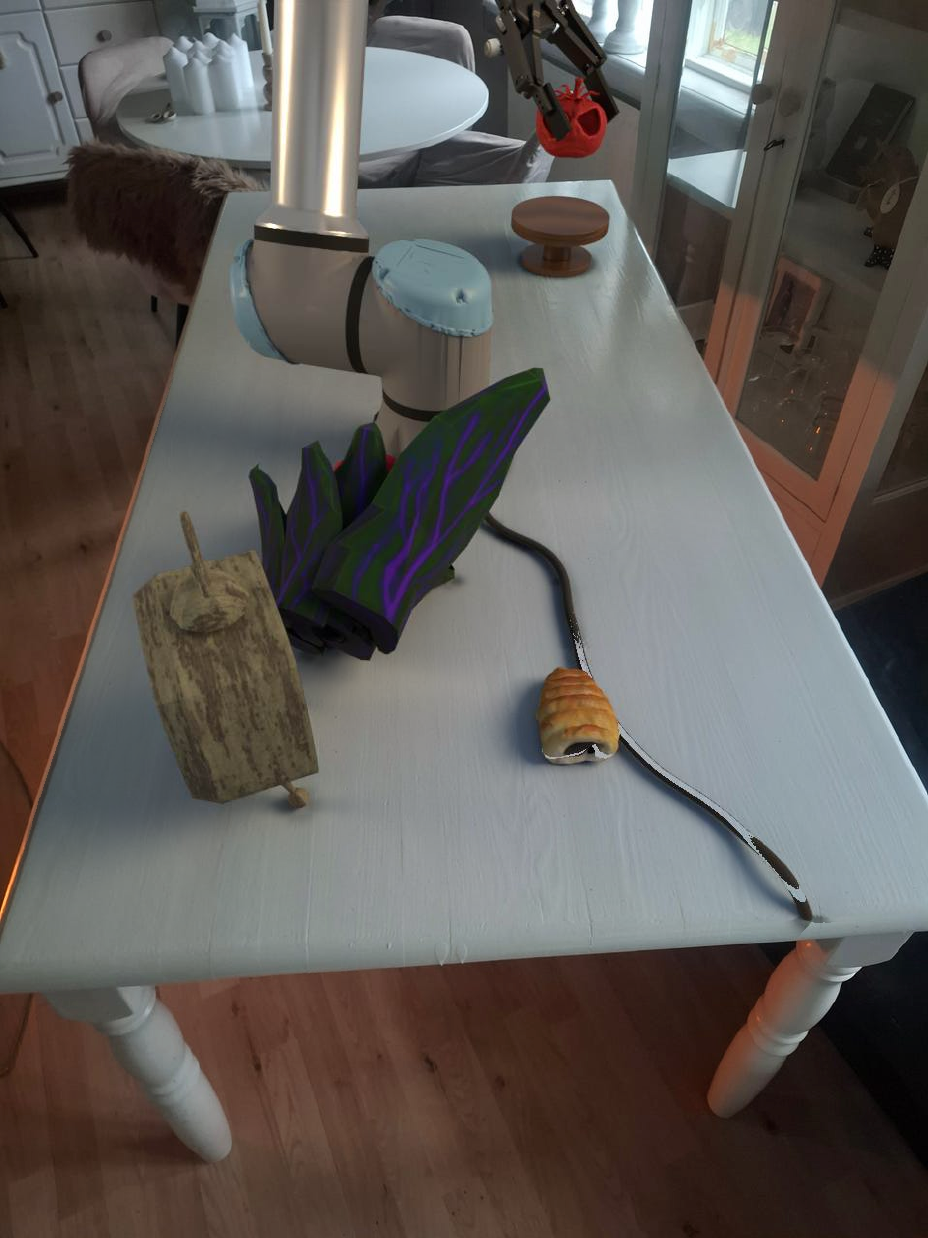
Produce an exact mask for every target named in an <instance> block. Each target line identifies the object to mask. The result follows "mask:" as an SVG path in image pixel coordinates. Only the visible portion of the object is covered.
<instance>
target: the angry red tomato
mask: <svg viewBox="0 0 928 1238" xmlns="http://www.w3.org/2000/svg"><path fill="white" fill-rule="evenodd" d="M583 81H584V78H582V77H575V78H574V87H573V91H571V90H570V88H569V86H568V84H566V83H563V84H562V85H560V86H559V88H564V89H565V92H564V91H562V90H560V89H555V90H554V89H553V90H554V92H555V93H557V94H556V96H557V98H558V100H559V102H560V104H561V106H562V108H563V110H564V112H565V114H566V116H567V118H568V120H569V122H570V124H571V126H572V128H573V129H572V130H571V131H570V132H569V133H568V134H567V135H566V136H565V137H564V138H563V139H562V140H561V141H558V142H557V141H556V139H555V137H554V135H553V133H552V131H551V129H550V127H549V125H548V123H547V121H546V119H545V117H543V116H542V114H541V113H540V111H539V109H538V108H537V109H536V112H535V134H536V138H537V140H538V142H539V144H540V146H541V147H542V148H543V150H544V152H546V153H547V154H548V155H549V156H553V157H554V158H563V159H584V158H587V157H589V156H592V155H594V153H596V152H597V151H598V150H599V149H600V147H601V146H602V143H603V140H604V138H605V136H606V133H607V126H608V124H607V117H606V114H605V111H604V110H603V108H602V107H601V106H600V105H599V104H598V103H596V102H593V101H592V99H591V98H588V97H590V94H593V95H599V94H600V93H595V92H593V91H587V92H586V91H585V92H584V93H583V90H584V89H586V86H585V85H584V86H583V85H582V84H583ZM581 86H582V87H581ZM582 93H583V94H582ZM581 94H582V95H581Z"/></svg>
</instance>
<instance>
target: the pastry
mask: <svg viewBox="0 0 928 1238" xmlns="http://www.w3.org/2000/svg"><path fill="white" fill-rule="evenodd" d="M593 679H594V678H593ZM593 679H592V678H591V677H590V676H589V675H588V673H587V672H585V671H582V670H579V668H566V667H564V666H563V667H562V666H558V667H556V668H555V669H554V670H552V672H549V674H548V675H546V677H545V680H544V681H543V682H544V683H543V685H542V687H541V692H540V693H539V699H538V705H539V704H540V705H539V706H538V708H537V710H536V712H535V718H536V720H538V721H537V722H538V726H539V727H538V728H539V731H540V743H541V746H542V745H543V750H542V749H541V752H542V751H543V753H544V754H545V755H547V756H549V757H562V756H566V755H570V754H574V753H579V752H581V751H583V750H585V749H586V750H585V751H584V752H583V753H581V754H579V755H575V756H569V757H563V758H556V759H548V758H546V757H544V755H543V754H542V756H543V757H544V758H545V759H546V760H547V761H549V762H550V763H551V764H555V765H573V764H577V763H582V762H585V761H588V762H605V761H607V760H609V759H610V758H608V759H604V758H599V757H596V756H595V750H594V748H593V747H592V745H594V744H596V746H597V747H598V749H599V751H600V752H603V753H604V754H606V755H610V754H613V753H615V754H616V752H617V750H618V749H619V729H618V722H619V721H618V722H617V720H618V718H617V717H616V715H615V711H614V708H613V706H612V704H611V702H610V699H609V698H608V697H607V696H606V695H605V693H604V691H603V689H602V688H600V687H599V685H598V684H597V683H596V681H595V679H594V680H593ZM594 681H595V682H594Z"/></svg>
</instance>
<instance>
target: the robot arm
mask: <svg viewBox="0 0 928 1238" xmlns="http://www.w3.org/2000/svg"><path fill="white" fill-rule="evenodd" d="M494 2H495V5H496V7H497V9H498V10H499V11H498V12H499V13H498V15H497V16H496V17H495V19H494V20H493V21H492V27H493V29H494V31H495V32H496V34H497V36H498V38H499V39H500V42H501V43H500V44H501V46H502V49H503V52H504V53H503V54H504V56H505V60H506V63H507V66H508V70H509V73H510V77H511V80H512V83H513V87H514V90H515V92H516V94H518V95H521V94H522V95H523V97H524V99H526V100H530V99H531V98H532V99H533V101H534V102H535V105H536V107H537V109H539V111H540V113H541V114H542V116H543V117H545V119H546V121H547V123H548V125H549V127H550V129H551V131H552V133H553V135H554V137H555V139H556V141H557V142H558V141H561V140H562V139H563V138H564V137H565V136H566V135H567V134H568V133H569V132H570V131H571V130H572V129H573V128H572V126H571V124H570V122H569V120H568V118H567V116H566V114H565V112H564V110H563V108H562V106H561V104H560V102H559V100H558V98H557V93H556V92H554V88H553V85H552V84H551V82H550V81H549V82H546V83H545V79H544V78H545V77H544V69H543V60H542V59H543V58H542V50H541V40H546V41H547V43H549V44H550V45H554V46H556V47H557V49H558V50H559V51H560V52H561V53H562V54H563V55H564V56H565V57H566V58H567V59H568V60H569V61H570V62H571V63H572V64H573V65H574V66H575V67H576V68H577V70H578V71H579V72H580V73H581V74H582V75H583V76H584V77H585V78H584V79H583V82H582V84H584V87H585V86H586V87H585V89H586V91H587V92H588V91H593V92H595V93H600V94H599V95H593V94H590V95H589V97H590V100H592V101H593V102H596V103H598V104H599V105H600V106H601V107H602V108H603V110H604V111H605V114H606V117H607V125H608V124H609V123H610V122H612V120H614V119H615V118H616V117H617V116H618V115H619V114H620V113H621V112H620V109H619V108H618V106H617V105H618V104H617V103H616V101H615V99H614V97H613V94H612V93H611V89H610V86H609V83H608V81H607V80H606V77H605V76H604V73H603V71H602V66H603V65H604V64H605V63H606V61H607V60H608V55H607V53H606V52H605V51H604V49H603V48H602V45H600V43H599V41H598V40H597V39H596V37H595V36H594V35H593V33H592V31H591V30H590V29H589V27H588V26H587V23H585V22H584V21H585V20H583V18H582V17H581V16H580V14H579V13H578V11H577V9H576V7H575V5H574V2H573V0H494ZM368 14H369V0H273V38H272V39H273V40H272V41H273V42H272V44H273V46H272V87H271V89H272V94H271V137H270V138H271V140H270V141H271V142H270V185H269V186H270V187H269V195H270V196H269V204H268V207H267V208H266V209H265V210H264V211H263V212H262V213H261V214H260V215H259V216H258V217H257V218H255V220H254V222H253V237H252V238H249V239H248V240H245V241H243V242H242V243H241V244H240V245H239V246H238V247H237V249H236V251H235V252H234V254H233V260H234V263H232V264H231V265H230V272H229V297H230V304H231V305H230V306H231V309H232V313H233V318H234V320H235V324H236V327H237V328H238V331H239V333H240V335H241V336H242V337H243V338H244V340H245V343H246V344H247V345H248V347H250V349H252V350H253V351H254V352H255V353H257V354H258V355H259V356H262V357H265V358H270V359H274V360H278V361H283V362H285V363H287V364H289V365H292V366H293V365H295V366H296V365H306V366H311V367H312V366H313V367H319V368H323V369H329V370H336V371H343V372H348V373H354V374H355V373H356V374H363V375H369V376H373V377H378V378H380V382H381V394H382V395H381V397H382V399H381V404H380V407H379V410H378V411H377V412H376V413H375V414H374V416H373V420H372V422H375V423H376V424H377V426H378V428H379V429H380V431H381V434H382V437H383V442H384V446H385V450H386V454H388V455H391V456H393V457H394V458H395V459H396V460H397V459H398V457H399V455H400V454H401V453H402V452H403V451H404V450H405V448H406V447H407V446H408V445H409V444H410V443H411V442H412V441H413V440H414V439H415V437H416V436H417V435H418V434H419V433H420V432H421V431H422V430H423V429H424V428H425V426H426V425H427V424H428V423H429V422H430V421H431V420H432V419H433V418H434V416H436V415H438V414H440V413H441V412H443V411H445V410H447V409H449V408H451V407H452V406H454V405H456V404H458V403H460V402H462V401H463V400H465V399H467V398H469V397H471V396H473V395H474V394H476V393H478V392H480V391H482V390H483V389H485V388H487V387H489V386H490V372H491V370H490V369H491V349H492V329H493V328H492V327H493V324H494V319H495V318H494V310H493V299H492V297H493V295H492V292H493V291H492V281H491V277H490V275H489V272H488V271H487V269H486V267H485V266H484V265H483V264H482V263H480V261H479V260H478V259H477V258H476V257H475V256H474V255H473V254H471V253H469V252H468V251H466V250H464V249H462V248H461V247H458V246H456V245H453V244H450V243H447V242H442V241H438V240H434V239H428V238H413V239H412V240H406V239H399V240H394V241H391V242H389V243H387V244H385V245H383V246H381V247H380V248H379V250H377V252H376V254H375V256H373V255H369V254H370V253H369V252H370V239H371V238H370V234H369V233H368V231H367V230H366V229H365V227H364V225H363V224H362V223H361V222H360V221H359V219H358V216H357V207H358V206H357V205H358V186H359V170H360V168H359V167H360V155H361V154H360V153H361V152H360V151H361V135H362V121H363V120H362V116H363V99H364V84H365V83H364V82H365V68H366V51H367V49H366V48H367V32H368ZM557 25H558V26H557ZM544 83H545V84H544ZM483 521H485V523H487V525H488V526H490V527H491V528H492V529H493V530H495V532H497V533H499V534H500V535H502V536H504V537H505V538H507V539H510V540H512V541H514V542H516V543H518V544H520V545H523V546H525V547H527V548H528V549H529V548H530V549H531V550H533V551H535V552H537V553H538V554H540V555H541V556H543V557H544V558H545V559H546V560H547V561H548V563H550V564H551V566H552V567H553V570H555V572H556V574H557V576H558V579H559V582H560V583H559V584H560V587H561V594H562V595H561V596H562V603H563V610H564V615H565V619H566V623H567V626H568V630H569V635H570V638H571V643H572V649H573V652H574V658H575V661H576V665H577V669H579V670H582V667H581V664H580V660H579V657H578V653H577V649H576V644H575V640H576V641H577V643H579V638H580V640H581V643H580V645H581V644H582V648H583V653H584V656H585V660H586V663H587V666H588V669H589V672H590V674H591V676H592V679H593V680H594V682H595V683H596V680H595V678H594V677H593V674H592V671H591V669H590V667H589V664H588V659H587V657H586V652H585V649H584V643H583V640H582V635H581V631H580V627H579V623H578V620H577V616H576V613H575V608H574V603H573V594H572V588H571V582H570V578H569V575H568V572H567V570H566V568H565V566H564V565H563V563H562V561H561V560H560V558H559V557H558V556H557V555H556V554H555V553H554V552H553V551H551V550H550V549H549V548H548V547H546V546H545V545H543V544H542V543H541V542H538V541H536V540H534V539H533V538H530V537H527V536H526V535H523V534H521V533H519V532H517V531H514V530H512V529H510V528H508V527H507V526H506V525H503V524H502V523H501V522H499V520H498V519H496V518H495V517H494V516H493V515H492V513H491V512H490V511H489V512H488V514H487V515H486V517H485V519H484V520H483ZM573 612H574V613H573ZM570 620H571V621H570ZM576 623H577V624H576ZM571 626H572V627H571ZM578 631H579V635H580V636H579V635H578ZM573 633H574V635H575V636H576V637H575V636H574V635H573ZM577 636H578V638H577ZM574 639H575V640H574ZM579 648H580V646H579ZM582 661H583V660H582ZM582 671H583V670H582ZM617 721H618V723H619V724H620V725H621V726H622V724H621V723H620V722H619V720H618V719H617ZM622 728H623V729H624V730H625V731H626V733H627V734H628V735H629V736H630V737H631V738H632V739H633V737H632V736H631V735H630V733H628V732H627V730H626V729H625V728H624V727H623V726H622ZM618 741H620V742H621V744H622V745H623V746H624V747H625V748H626V749H627V751H629V752H630V753H631V755H632V756H633V757H634V758H635V759H636V760H637V761H638V762H639V763H640V764H641V765H643V766H644V768H645V769H646V770H648V771H649V772H650V773H651V774H653V775H654V776H655V777H656V778H658V779H659V780H660V781H661V782H663V783H665V785H667V786H669V787H670V788H672V789H673V790H674V791H676V792H677V793H679V794H681V795H682V796H684V797H685V798H687V799H688V800H690V801H692V802H694V803H695V804H696V805H698V806H699V807H701V808H702V809H703V810H705V811H706V812H707V813H709V814H710V815H712V816H713V817H714V818H715V819H717V820H718V821H719V822H720V823H721V824H722V825H724V826H725V827H726V828H727V829H728V830H729V831H731V832H732V833H733V834H734V835H735V836H736V837H737V838H738V839H740V840H741V841H742V842H743V843H744V844H745V845H746V846H747V847H749V848H750V849H751V850H752V851H754V853H756V854H757V855H758V856H759V854H758V853H757V852H756V851H755V850H754V849H753V848H752V847H751V846H750V845H749V844H748V842H747V841H746V840H745V839H744V838H743V836H742V835H741V834H740V833H739V832H738V831H737V830H736V829H735V828H734V827H733V826H732V825H731V824H730V823H729V822H728V821H727V820H726V819H725V818H724V817H723V816H721V815H720V814H719V813H718V812H716V811H715V810H714V809H712V808H711V807H710V806H708V805H707V804H705V803H704V802H703V801H701V800H700V799H698V798H697V797H695V796H693V795H692V794H690V793H689V792H687V791H686V790H684V789H683V788H681V787H679V786H678V785H676V784H675V783H673V782H672V781H670V780H669V779H668V778H666V777H665V776H663V775H662V774H661V773H659V772H658V771H657V770H655V769H654V768H653V767H652V766H651V765H650V764H648V763H647V762H646V761H645V760H644V759H643V758H642V757H641V756H640V755H639V754H638V753H637V752H636V751H635V750H634V749H633V748H632V747H631V746H630V745H629V743H628V742H627V741H626V740H625V739H624V738H623V737H622V736H621V734H620V735H619V739H618ZM635 743H636V744H637V745H638V746H639V747H640V748H641V749H642V750H643V751H644V752H645V753H646V754H647V755H648V756H649V757H650V758H652V757H651V756H650V755H649V754H648V753H647V752H646V751H645V750H644V749H643V748H642V746H640V745H639V744H638V743H637V742H636V741H635ZM654 761H655V762H656V763H657V764H658V765H660V764H659V763H658V762H657V761H656V760H654ZM661 767H662V768H663V769H665V768H664V767H663V766H661ZM665 770H666V771H667V772H669V771H668V770H667V769H665ZM669 773H670V774H672V773H671V772H669ZM672 775H673V776H675V775H674V774H672ZM675 777H676V778H678V777H677V776H675ZM678 779H679V780H681V779H680V778H678ZM681 781H682V782H684V781H683V780H681ZM684 783H685V784H687V783H686V782H684ZM687 785H688V786H690V787H692V786H691V785H689V784H687ZM692 788H693V789H695V788H694V787H692ZM695 790H696V791H698V790H697V789H695ZM698 792H699V793H701V794H703V793H702V792H700V791H698ZM703 795H704V796H705V797H707V798H708V799H710V800H711V801H713V800H712V799H711V798H709V797H708V796H707V795H705V794H703ZM713 802H714V803H715V804H717V803H716V802H715V801H713ZM717 805H718V806H719V807H721V806H720V805H719V804H717ZM721 808H722V807H721ZM722 809H723V810H725V809H724V808H722ZM726 812H727V813H728V814H729V815H730V816H732V814H730V813H729V812H728V811H726ZM733 818H734V819H735V820H736V821H737V822H739V821H738V820H737V819H736V818H735V817H733ZM741 825H742V826H743V827H745V826H744V825H743V824H741ZM748 831H749V832H751V831H750V830H748ZM749 836H750V835H749ZM751 837H752V836H751ZM755 837H756V836H755ZM755 837H753V838H750V839H751V840H752V841H751V842H752V843H753V842H754V843H753V845H754V846H756V850H759V853H760V854H762V857H764V858H765V860H767V862H768V863H769V864H770V865H771V866H772V868H774V869H775V871H776V872H777V873H778V874H779V876H781V878H782V879H783V880H784V881H785V882H787V884H788V885H791V886H792V887H794V888H795V889H799V885H800V883H799V881H798V880H797V878H796V877H795V875H794V873H792V871H791V870H790V869H789V867H788V866H787V864H785V863H784V861H783V860H782V859H781V858H780V857H779V856H778V855H777V854H776V853H775V852H774V851H773V850H771V849H770V848H769V846H767V845H766V844H765V843H764V842H762V841H761V840H760V839H759V838H758V837H757V838H758V839H759V840H758V839H757V838H755ZM763 843H764V844H765V845H764V844H763ZM772 868H771V869H772ZM775 871H774V872H775ZM776 872H775V873H776ZM779 876H778V877H779ZM797 881H798V882H797ZM798 883H799V884H798ZM797 887H798V888H797ZM787 891H788V893H789V894H790V896H791V898H792V900H793V903H794V905H795V907H796V909H797V912H798V915H799V916H800V917H801V919H803V920H804V921H806V922H811V921H812V920H813V911H812V909H811V905H810V903H809V901H808V898H807V896H806V895H805V897H806V901H805V902H800V901H799V900H797V899H796V898H795V897H793V895H792V894H791V893H790V891H789V890H788V889H787Z"/></svg>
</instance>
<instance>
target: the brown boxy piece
mask: <svg viewBox="0 0 928 1238" xmlns="http://www.w3.org/2000/svg"><path fill="white" fill-rule="evenodd" d="M179 521H180V525H181V530H182V534H183V537H184V539H185V543H186V546H187V549H188V553H189V556H190V559H191V563H190V565H188V566H184V567H180V568H176V569H172V570H168V571H164V572H160V573H155V574H154V575H152V576H151V578H150V579H148V581H147V582H145V583H144V584H143V585H142V586H141V587H140V588H139V589H138V590H137V591H136V592H135V593H134V594H132V600H133V601H132V602H133V607H134V612H135V618H136V622H137V627H138V633H139V638H140V643H141V648H142V652H143V656H144V661H145V666H146V670H147V674H148V679H149V684H150V689H151V693H152V696H153V700H154V703H155V707H156V710H157V713H158V716H159V719H160V723H161V724H162V725H161V726H162V727H163V731H164V733H165V735H166V738H167V741H168V743H169V746H170V748H171V751H172V753H173V756H174V758H175V762H176V764H177V767H178V769H179V770H180V771H179V772H180V773H181V776H182V778H183V780H184V782H185V783H184V784H185V785H186V788H187V790H188V793H189V794H190V796H191V797H192V799H195V800H200V801H205V802H209V803H216V804H220V805H224V804H227V803H229V802H233V801H236V800H239V799H241V798H245V797H248V796H250V795H254V794H257V793H260V792H262V791H266V790H269V789H273V788H275V787H279V786H282V787H283V789H285V790H286V791H287V792H288V793H289V794H288V803H289V804H290V805H291V806H292V807H293V808H295V809H302V808H304V807H306V806H307V804H308V803H309V802H310V794H309V792H308V791H307V790H306V789H305V788H304V787H298V786H297V787H295V786H294V785H293V781H297V780H301V779H304V778H307V777H309V776H313V775H315V774H318V773H319V769H320V767H319V763H318V756H317V750H316V745H315V744H316V743H315V739H314V738H315V737H314V734H313V729H312V724H311V720H310V714H309V711H308V706H307V701H306V696H305V692H304V688H303V684H302V679H301V676H300V675H301V674H300V672H299V667H298V664H297V661H296V657H295V655H294V651H293V648H292V646H291V645H290V642H289V639H288V636H287V633H286V630H285V627H284V625H283V622H282V619H281V616H280V613H279V611H278V608H277V605H276V602H275V599H274V596H273V594H272V591H271V588H270V586H269V583H268V580H267V578H266V575H265V573H264V570H263V567H262V561H261V560H260V557H259V555H258V553H257V551H256V549H253V550H248V551H245V552H244V551H243V552H240V553H236V554H232V555H227V556H224V557H221V558H216V559H212V560H208V561H206V560H205V559H204V558H203V555H202V553H201V552H202V551H201V549H200V545H199V540H198V537H197V534H196V530H195V526H194V524H193V521H192V518H191V516H190V513H189V512H188V511H187V510H182V511H181V512H180V513H179Z"/></svg>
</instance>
